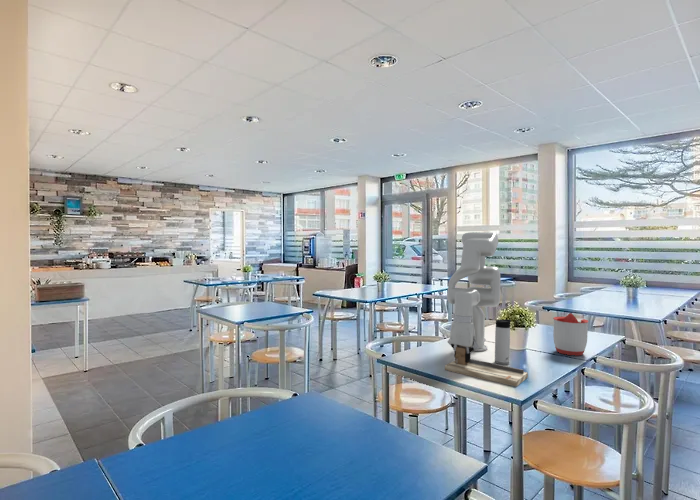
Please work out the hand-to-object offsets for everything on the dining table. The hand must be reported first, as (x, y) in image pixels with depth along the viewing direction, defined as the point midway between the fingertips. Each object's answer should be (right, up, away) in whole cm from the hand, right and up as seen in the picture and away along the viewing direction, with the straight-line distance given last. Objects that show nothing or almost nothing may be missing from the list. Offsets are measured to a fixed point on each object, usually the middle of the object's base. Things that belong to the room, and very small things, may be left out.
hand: (462, 360), depth 182 cm
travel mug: (+20, -4, +8) cm, 22 cm away
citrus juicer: (+61, -4, +27) cm, 67 cm away
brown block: (-1, -1, -1) cm, 2 cm away
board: (+8, -4, -8) cm, 11 cm away
